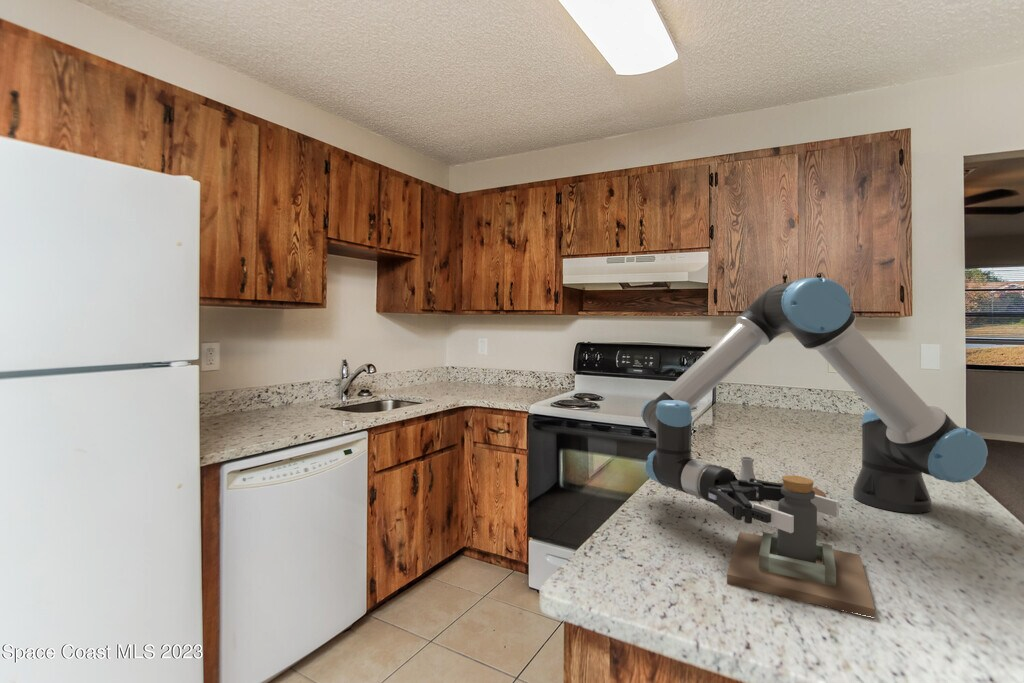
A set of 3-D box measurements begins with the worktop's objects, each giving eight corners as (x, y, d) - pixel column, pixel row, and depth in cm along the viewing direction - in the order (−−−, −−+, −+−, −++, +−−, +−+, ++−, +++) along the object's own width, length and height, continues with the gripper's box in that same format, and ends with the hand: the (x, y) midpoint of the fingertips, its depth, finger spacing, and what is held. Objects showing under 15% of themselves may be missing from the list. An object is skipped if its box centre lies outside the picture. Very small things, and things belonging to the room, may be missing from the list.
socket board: (859, 562, 87) (860, 541, 87) (874, 619, 70) (875, 592, 70) (739, 538, 98) (739, 519, 98) (726, 582, 81) (727, 559, 80)
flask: (756, 492, 126) (756, 454, 126) (767, 501, 119) (768, 461, 119) (727, 491, 127) (727, 453, 127) (737, 500, 120) (737, 461, 120)
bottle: (770, 556, 87) (771, 474, 86) (800, 555, 87) (802, 473, 87) (791, 572, 81) (793, 485, 80) (824, 571, 81) (825, 484, 81)
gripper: (747, 490, 106) (854, 524, 87) (666, 511, 93) (770, 555, 75) (747, 456, 105) (854, 483, 87) (667, 473, 93) (771, 507, 75)
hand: (816, 516), depth 81 cm, fingers open, 13 cm apart
